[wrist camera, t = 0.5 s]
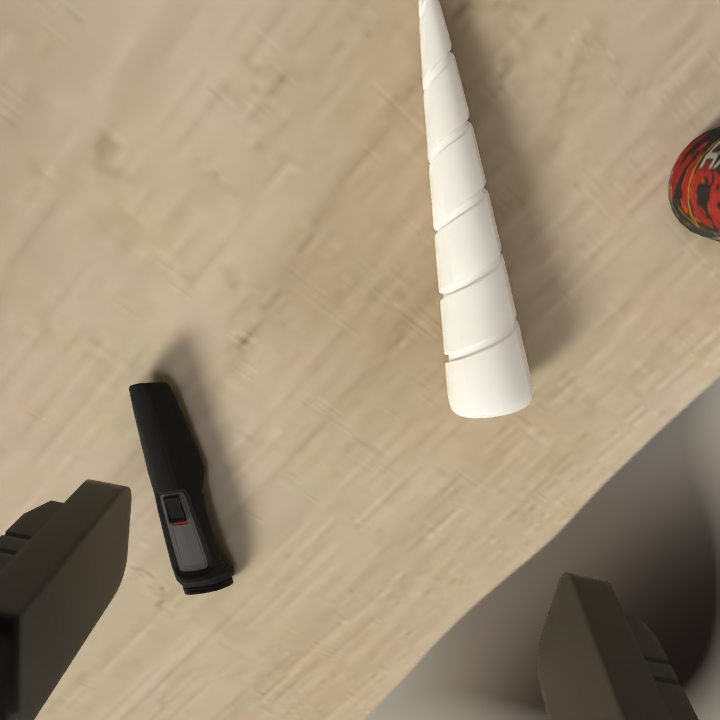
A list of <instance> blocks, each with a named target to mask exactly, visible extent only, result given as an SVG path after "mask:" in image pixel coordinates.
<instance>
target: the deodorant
mask: <svg viewBox="0 0 720 720" xmlns="http://www.w3.org/2000/svg"><path fill="white" fill-rule="evenodd" d="M669 200H670V203H671V206H672V210H673V212H674V214H675V215H676V217H677V218H678V220H679V221H680V223H682V224H683V225H684V226H685V227H686V228H688V229H689V230H690V231H692V232H694V233H696V234H699V235H701V236H703V237H707V238H710V239H713V240H716V241H720V127H718V128H715V129H713V130H711V131H708V132H706V133H704V134H702V135H701V136H699V137H698V138H697V139H695V140H694V141H692V142H691V143H690V144H689V145H688V146H687V148H686V149H685V150H684V151H683V152H682V153H681V154H680V156H679V158H678V160H677V162H676V163H675V165H674V167H673V169H672V173H671V177H670V181H669Z"/></svg>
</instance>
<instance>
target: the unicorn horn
mask: <svg viewBox="0 0 720 720" xmlns="http://www.w3.org/2000/svg"><path fill="white" fill-rule="evenodd" d="M419 16H420V22H419V23H420V45H421V63H422V79H423V89H424V91H425V93H424V108H425V122H426V136H427V150H428V161H429V162H430V163H431V164H430V166H429V176H430V189H431V201H432V213H433V225H434V229H435V230H437V231H438V233H437V234H436V235H435V249H436V261H437V273H438V285H439V293H442V294H444V298H443V299H442V300H441V301H440V308H441V319H442V331H443V344H444V354H445V355H449V362H448V363H445V368H446V378H447V392H448V398H449V403H450V408H451V409H452V410H453V411H454V413H456V414H458V415H460V416H462V417H469V418H488V417H496V416H502V415H506V414H509V413H513V412H516V411H519V410H521V409H523V408H525V407H527V406H528V405H529V404H530V402H531V401H532V399H533V397H534V388H533V383H532V379H531V374H530V370H529V366H528V362H527V358H526V353H525V349H524V345H523V340H522V336H521V331H520V327H519V324H518V322H517V320H516V318H515V317H516V309H515V305H514V301H513V296H512V292H511V287H510V283H509V279H508V274H507V270H506V266H505V261H504V258H503V255H502V254H501V253H500V252H501V249H502V248H501V243H500V239H499V235H498V231H497V226H496V222H495V218H494V213H493V209H492V205H491V201H490V196H489V193H488V191H487V190H486V189H485V188H484V186H485V183H486V179H485V175H484V171H483V167H482V162H481V158H480V154H479V150H478V146H477V142H476V138H475V134H474V129H473V126H472V124H471V123H470V122H468V121H467V120H468V117H469V115H470V113H469V110H468V106H467V102H466V98H465V94H464V90H463V86H462V82H461V78H460V75H459V71H458V67H457V63H456V59H455V56H454V54H452V53H451V52H449V51H450V50H451V46H452V45H451V41H450V37H449V34H448V30H447V26H446V23H445V19H444V16H443V13H442V9H441V6H440V3H439V0H419Z"/></svg>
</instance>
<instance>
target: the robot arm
mask: <svg viewBox="0 0 720 720" xmlns="http://www.w3.org/2000/svg"><path fill="white" fill-rule="evenodd" d="M130 512H131V490H130V488H129V487H126V486H121V485H116V484H111V483H105V482H100V481H95V480H90V479H89V480H86V481H85V482H84V483H83V484H82V485H81V486H80V487H79V488H78V489H77V490H76V491H75V492H74V493H73V494H72V495H71V496H70V497H69V498H68V499H67V500H66V502H65V503H61V502H56V501H49V502H47V503H45V504H43V505H41V506H39V507H37V508H35V509H33V510H31V511H29V512H27V513H25V514H23V515H22V516H21V517H20V518H19V519H18V520H17V521H16V522H15V523H14V524H13V525H12V526H11V527H10V528H9V529H8V530H7V531H6V533H5V535H2V536H1V537H0V720H34V719H35V718H36V716H37V714H38V713H39V711H40V710H41V708H42V707H43V705H44V704H45V702H46V701H47V699H48V697H49V696H50V694H51V693H52V691H53V690H54V688H55V687H56V685H57V684H58V682H59V680H60V679H61V677H62V676H63V674H64V673H65V671H66V670H67V668H68V667H69V665H70V663H71V662H72V660H73V659H74V657H75V656H76V654H77V653H78V651H79V650H80V648H81V646H82V645H83V643H84V642H85V640H86V639H87V637H88V636H89V634H90V633H91V631H92V629H93V628H94V626H95V625H96V623H97V622H98V620H99V619H100V617H101V616H102V614H103V612H104V611H105V609H106V608H107V606H108V605H109V603H110V602H111V600H112V599H113V597H114V595H115V594H116V592H117V590H118V588H119V586H120V583H121V581H122V578H123V575H124V571H125V567H126V562H127V552H128V539H129V525H130ZM537 671H538V677H539V682H540V686H541V690H542V694H543V699H544V703H545V706H546V711H547V715H548V719H549V720H698V718H697V716H696V714H695V712H694V710H693V708H692V706H691V704H690V702H689V700H688V698H687V696H686V694H685V692H684V690H683V688H682V686H679V680H678V678H677V676H676V674H675V672H674V670H673V668H672V666H670V665H669V660H668V658H667V656H666V654H665V652H664V650H663V648H662V646H661V644H660V642H659V640H658V638H657V636H655V634H654V633H653V632H652V631H651V630H650V629H649V628H648V627H647V626H646V625H645V624H644V623H643V622H642V621H641V620H640V619H639V618H638V617H637V616H636V615H635V614H631V613H626V612H623V610H622V608H621V606H620V604H619V601H618V599H617V597H616V595H615V592H614V590H613V588H612V586H611V584H610V583H609V581H607V580H605V579H600V578H594V577H589V576H584V575H578V574H573V573H568V572H566V573H564V574H563V575H562V576H561V578H560V580H559V583H558V585H557V589H556V592H555V595H554V598H553V601H552V604H551V607H550V610H549V613H548V617H547V619H546V623H545V626H544V629H543V632H542V635H541V638H540V642H539V647H538V655H537Z"/></svg>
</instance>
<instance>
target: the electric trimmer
mask: <svg viewBox="0 0 720 720" xmlns="http://www.w3.org/2000/svg"><path fill="white" fill-rule="evenodd" d="M129 391H130V396H131V401H132V406H133V411H134V415H135V419H136V424H137V428H138V432H139V436H140V440H141V445H142V449H143V453H144V457H145V461H146V466H147V470H148V474H149V477H150V480H151V484H152V487H153V490H154V494H155V499H156V503H157V508H158V513H159V517H160V521H161V525H162V529H163V533H164V537H165V541H166V545H167V549H168V553H169V557H170V561H171V565H172V568H173V571H174V574H175V577H176V580H177V581H178V582H179V583H180V584H181V585H182V586H183V589H184V592H185V594H186V595H193V594H202V593H207V592H212V591H217V590H220V589H223V588H225V587H227V586H230V585H231V584H233V578H232V575H233V573H234V569H233V567H229V566H226V565H225V564H224V563H223V561H222V560H221V557H220V554H219V552H218V548H217V545H216V541H215V538H214V534H213V531H212V528H211V524H210V521H209V517H208V514H207V510H206V507H205V502H204V497H203V492H202V489H203V477H204V466H203V463H202V460H201V458H200V455H199V452H198V450H197V448H196V445H195V443H194V441H193V438H192V436H191V434H190V431H189V429H188V427H187V424H186V422H185V420H184V417H183V415H182V413H181V410H180V408H179V406H178V403H177V401H176V399H175V396H174V394H173V392H172V389H171V387H170V386H169V384H167V383H163V382H157V383H140V384H135V385H131V386H130V387H129Z"/></svg>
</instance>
